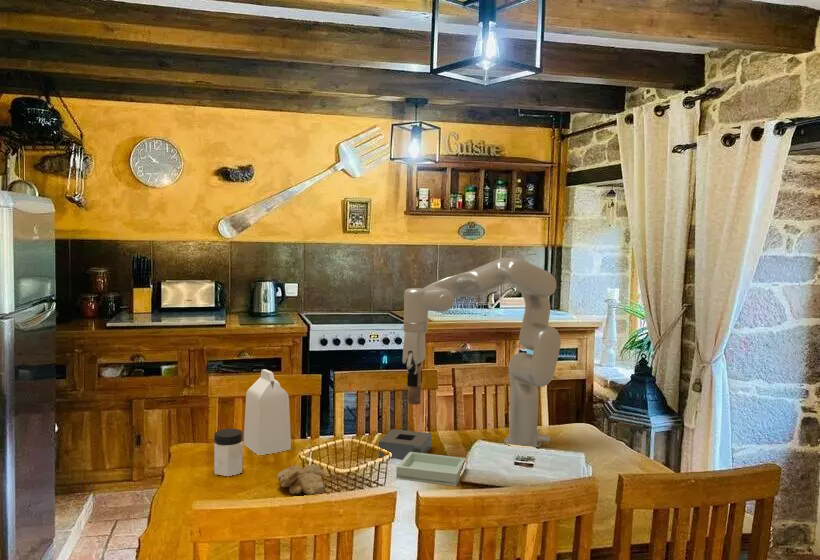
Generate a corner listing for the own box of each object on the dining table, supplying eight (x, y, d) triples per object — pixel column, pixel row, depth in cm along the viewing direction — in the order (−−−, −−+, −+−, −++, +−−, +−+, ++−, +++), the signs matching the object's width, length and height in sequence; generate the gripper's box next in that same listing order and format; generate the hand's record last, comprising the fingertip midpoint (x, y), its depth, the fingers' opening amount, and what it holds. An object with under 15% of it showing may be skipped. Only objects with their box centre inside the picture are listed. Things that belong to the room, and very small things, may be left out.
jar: (207, 474, 194) (207, 434, 193) (223, 465, 201) (223, 427, 200) (234, 478, 191) (234, 438, 190) (249, 469, 199) (249, 430, 198)
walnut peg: (422, 402, 210) (422, 365, 209) (418, 405, 206) (419, 367, 206) (410, 400, 212) (410, 364, 211) (406, 403, 208) (406, 366, 207)
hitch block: (431, 447, 221) (431, 433, 221) (420, 461, 208) (420, 446, 207) (391, 443, 225) (391, 429, 225) (378, 456, 212) (378, 441, 211)
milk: (243, 446, 219) (243, 369, 217) (275, 440, 226) (275, 365, 224) (258, 456, 210) (258, 376, 208) (291, 450, 216) (291, 372, 214)
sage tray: (465, 469, 202) (466, 458, 201) (456, 486, 188) (456, 474, 188) (409, 462, 207) (409, 451, 206) (396, 478, 193) (396, 466, 193)
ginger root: (282, 472, 193) (288, 447, 192) (332, 488, 191) (339, 463, 190) (261, 495, 178) (268, 467, 177) (316, 513, 176) (323, 485, 175)
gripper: (412, 323, 216) (411, 378, 218) (395, 330, 200) (394, 389, 202) (434, 324, 214) (433, 380, 215) (419, 331, 198) (418, 391, 199)
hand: (414, 384), depth 208 cm, fingers closed on walnut peg, 4 cm apart
